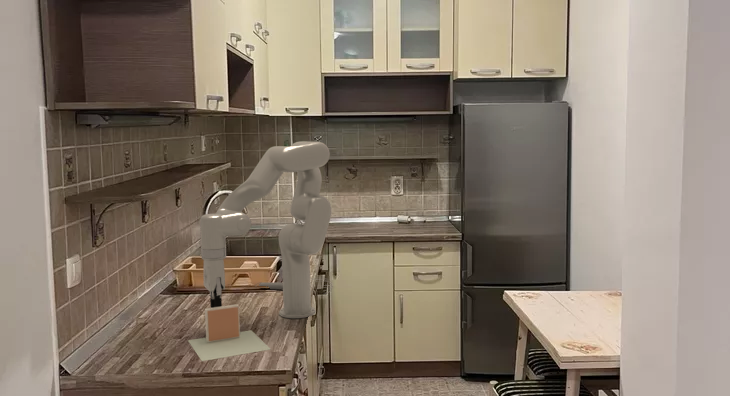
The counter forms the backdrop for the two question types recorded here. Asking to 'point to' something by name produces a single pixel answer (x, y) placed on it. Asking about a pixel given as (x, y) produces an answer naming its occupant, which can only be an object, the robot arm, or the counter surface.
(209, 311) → the tile
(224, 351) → the mat
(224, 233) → the robot arm
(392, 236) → the counter surface
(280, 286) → the kitchen whisk
